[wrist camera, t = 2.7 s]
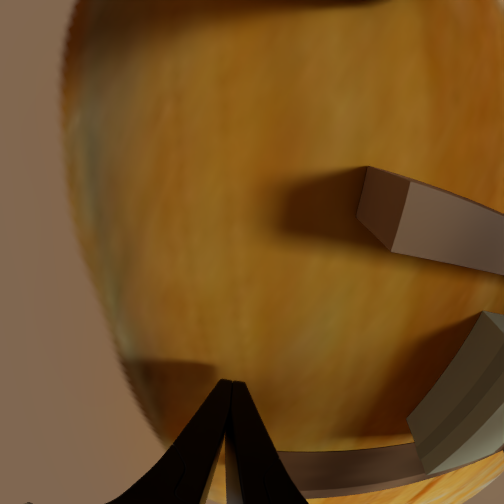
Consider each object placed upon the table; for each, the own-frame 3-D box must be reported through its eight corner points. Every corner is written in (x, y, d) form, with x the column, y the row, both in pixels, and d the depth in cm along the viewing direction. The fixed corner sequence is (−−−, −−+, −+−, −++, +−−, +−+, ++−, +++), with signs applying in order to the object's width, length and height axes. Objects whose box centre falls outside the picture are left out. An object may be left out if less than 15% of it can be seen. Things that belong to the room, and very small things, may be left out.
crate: (534, 318, 10) (572, 360, 6) (470, 409, 12) (492, 453, 9) (480, 306, 9) (531, 365, 6) (403, 416, 12) (425, 476, 8)
